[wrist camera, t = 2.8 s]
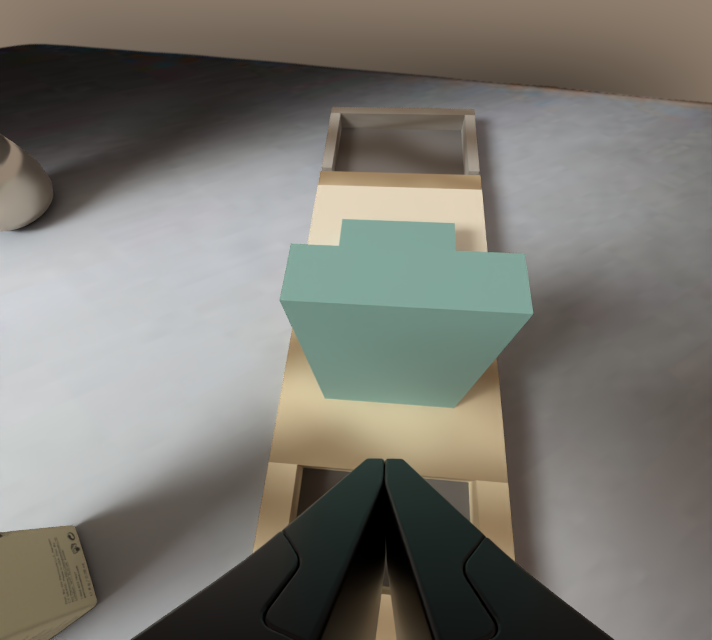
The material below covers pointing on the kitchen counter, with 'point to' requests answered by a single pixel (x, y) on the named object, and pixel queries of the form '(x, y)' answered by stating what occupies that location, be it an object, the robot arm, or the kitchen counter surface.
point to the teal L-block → (402, 311)
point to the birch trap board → (386, 420)
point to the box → (42, 582)
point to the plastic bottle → (21, 187)
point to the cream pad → (399, 211)
